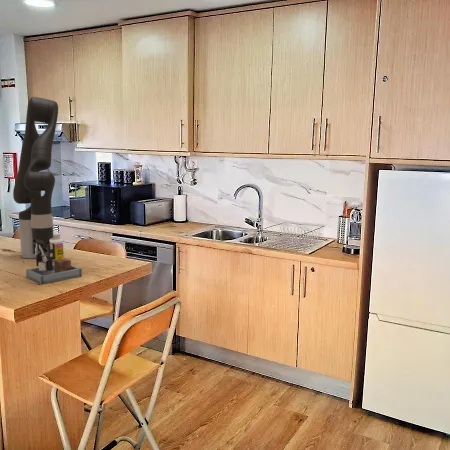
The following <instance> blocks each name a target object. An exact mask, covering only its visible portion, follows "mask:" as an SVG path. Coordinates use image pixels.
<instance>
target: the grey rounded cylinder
mask: <svg viewBox="0 0 450 450" xmlns="http://www.w3.org/2000/svg"><path fill="white" fill-rule="evenodd" d="M38 265H39V274H40V275H47V274H52V272H51V270H50V271H47V270H46V259H45V260H43V261H39V262H38Z"/></svg>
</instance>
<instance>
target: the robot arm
mask: <svg viewBox="0 0 450 450" xmlns="http://www.w3.org/2000/svg"><path fill="white" fill-rule="evenodd" d="M58 116H59V104H58V102H57V101H55V100H52V99H48V98H42V97H37V96H32V97H30V98H29V100H28V103H27V110H26V118H25V129H24V134H23V135H24V136H23V141H22V143H21V149H20V156H19V164H18V165H19V166H18V171H17V174H16V178H15V181H14V185H13V191H12V192H13V193H12V197H13V200H14V202H15V203H16V204H19V205H22V204H23V205H24V204H30V205H29V207H28V208H26V209H24V210H22V211H19V212H18V225H19V240H20V255H21V258H23V259H35V261H36V262H35V263H36V264H35V265H36V267H37V268H38V267H39V265H38V262H39V261H44V260H43V257H44V259H45V260H46V270H47V271H50V270H53V263H52V260H54V259H55V246H54V243H51V244H50V239H51V238H53V233H54V223H53V222H54V219H53V214H52V199H53V197H52V196H53V192H54V188H55V184H56V177H55V175H54V174H53V172H51V171H45V170H48V169H50V168H51V164H52V152H53V151H52V149H53V143H54V140H55V134H56V130H57V129H56V128H57V122H58ZM35 122H37V123H42V124H47V127H46V128H45V130H44V131H43V132H42V133H41V134H39V132H38V130H37V127H36V123H35ZM42 192H44V194H43V195H42ZM52 254H53V256H52Z"/></svg>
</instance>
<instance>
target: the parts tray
mask: <svg viewBox="0 0 450 450" xmlns="http://www.w3.org/2000/svg"><path fill="white" fill-rule="evenodd" d="M51 272H52V274H47V275H40V274H39V267H38V266H37V267H34V268H28V269H25V276H26V278H27V279H29V280H30V281H33V282H35V283H37V284H39V285H46V284H51V283H55V282H61V281H65V280H70V279H76V278H81V277H83V270H82V268H81V267H79V266H76V265H74V264H71V270H68V271H63V272H58V273H55V265H53V270H51Z"/></svg>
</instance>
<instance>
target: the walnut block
mask: <svg viewBox="0 0 450 450" xmlns="http://www.w3.org/2000/svg"><path fill="white" fill-rule="evenodd" d="M54 264H55V273H58V272H63V271H68V270H71V265H72V259H69V258H65V257H64V258H63V259H57V260H54Z"/></svg>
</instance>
